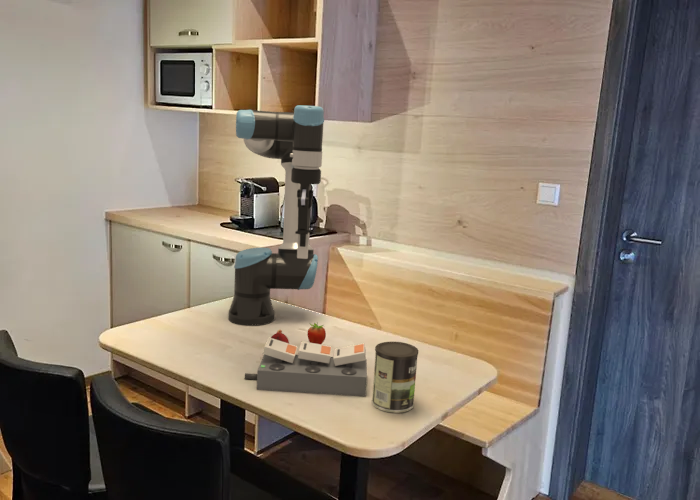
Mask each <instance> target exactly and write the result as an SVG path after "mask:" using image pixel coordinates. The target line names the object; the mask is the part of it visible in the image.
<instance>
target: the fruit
mask: <svg viewBox="0 0 700 500" xmlns="http://www.w3.org/2000/svg"><path fill="white" fill-rule="evenodd" d="M309 325H310V326H311V327H309V329H308V330H307V339H308V342H309V343H315V344H321V345H323V343H324V342H325V340H326V336H327V333H326V329H325V328H324V324H322V325H321V324H320V325H319V324H318V323H317V322H314V323H313V324H312V323H309Z"/></svg>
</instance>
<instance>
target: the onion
mask: <svg viewBox="0 0 700 500" xmlns="http://www.w3.org/2000/svg"><path fill="white" fill-rule="evenodd" d="M270 338H273V339H276V340H279V341H282V342H286V343H289V344H290V340H289V338H288V337H287V335H286V334H285V333H283V330H281V329H278V330H277V331H276V333H274V334H273V335H271V336H270Z"/></svg>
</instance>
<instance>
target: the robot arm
mask: <svg viewBox="0 0 700 500" xmlns="http://www.w3.org/2000/svg"><path fill="white" fill-rule="evenodd" d="M293 111H294V112H288V111H286V112H285V111H270V110H269V111H268V110H256V109H255V110H253V109H239V110H238V111H237V112H236V115H235V116H236V117H235V135H236V137H237V138H238V139H243V142H244V145H245V147H246V148H247V149H248V150H249V151H250V152H252V153H253V154H255V155H258V156H260V157H264V158H268V159H273V160H280V166H281V167H282V168H283V169H284V172H285V174H284V175H285V177H284V178H285V179H284V205H283V208H284V209H283V232H282V233H283V236H282V237H283V238H282V243H281V245H279V247H278V249H277V251H278V252H277V253H276V252H275V253H274V252H273V251H272V249H271V248H269V247H252V248H245V249H243V250H240V251H238V252H237V254H236V255H235V257H234V258H235V260H234V267H233V268H234V287H233V288H234V291H233V293H234V295H233V297H232V301H231V303H230V307H229V309H228V312H227V313H228V314H227V316H228V317H227V318H228V320H229V321H230V322H231V323H233V324H236V325H241V326H262V325H267V324H270V323H272V322H274V321H275V317H276V316H275V315H276V314H275V313H276V312H275V309H274V305H273V303H272V299H271V290H274V289H275V290H297V291H300V290H310V289H311V288H312V287H313V286H314V284H315V282H316V281H315V279H316V276H317V271H318V260H319V255H317V254H316V253H314V251H315V250H314V248H313V247H312V245H310V234H311V233H312V229H310V228H311V225H310V224H311V207H312V206H313V197H314V189H312V185H319V184H320V183H321V177H322V170H321V169H320V168H321V167H322V163H323V139H324V138H323V137H324V123H325V117H324V115H325V111H324V108H323V107H322V106H319V105H318V106H317V105H296V106H295V107H294V110H293Z"/></svg>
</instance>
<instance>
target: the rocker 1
mask: <svg viewBox="0 0 700 500" xmlns="http://www.w3.org/2000/svg"><path fill="white" fill-rule="evenodd" d="M298 348H299V347H298V346H297V345H295V344H291V343H290V342H289V343H286V342H282V341H279V340H276V339H273V338H271V336H268V338H267V340H266V343H265V345H264V347H263V351H262V355H264V354H265V355H268V356H271V357H274V358H278V359H281V360H284V361H287V362H290V363H293V360H294V357H295V355H297V354H296V353H297V349H298Z"/></svg>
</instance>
